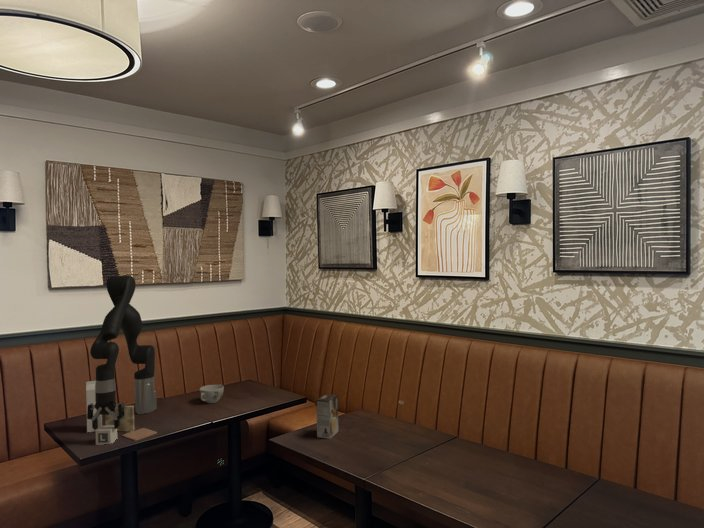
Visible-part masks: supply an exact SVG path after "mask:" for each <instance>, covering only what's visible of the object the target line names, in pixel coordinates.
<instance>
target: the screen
mask: <svg viewBox="0 0 704 528" xmlns="http://www.w3.org/2000/svg"><path fill="white" fill-rule="evenodd" d="M115 409H116V411H117V413H118V414H119V411H118V409H117V407H116V408H115ZM104 415H105V417H104V418H105V422H104V423H105V426H107V425H114V420H115V419H114V418H113V417H112V416H111V415H110V414H109V415H106V414H104ZM136 430H137V429H136V426H135V405H124V417H122V418H121V419H120V426H119V427H118V428H117V431H125V432H124V434H127V433H130V432H133V431H136Z"/></svg>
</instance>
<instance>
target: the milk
mask: <svg viewBox="0 0 704 528" xmlns="http://www.w3.org/2000/svg"><path fill="white" fill-rule="evenodd" d="M95 384H96V380H89V381H86V382H85V395H86V397H85V400H86V407H85V408H86V410H87V409H88V405H90V404H91V403H93V404H96V401H95ZM96 412H97V410H96V408H94V409H93V416H94V414H95V413H96ZM97 419H98V428H97V429H99V428H100V427H102V426H103V415H101V414H100V415H99V416H98V418H97ZM97 429H95V430H94V428H93V427H92V420H91V419H87V418H86V433H88V432H89V433H93V432H95V433H96V430H97Z"/></svg>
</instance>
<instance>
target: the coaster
mask: <svg viewBox="0 0 704 528" xmlns="http://www.w3.org/2000/svg"><path fill="white" fill-rule="evenodd" d="M156 434H158V432H157V431H155V430H151V429H150V428H149V429H148V428H146V427H142V428H139V429H135V430H134V431H132V432H130V433H124V434H122V435H121V437H123V436H124V438H126V439H129V440H132V441H134V442H137V441H139V440H142V439H145V438H147V437H151V436H154V435H156Z"/></svg>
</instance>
